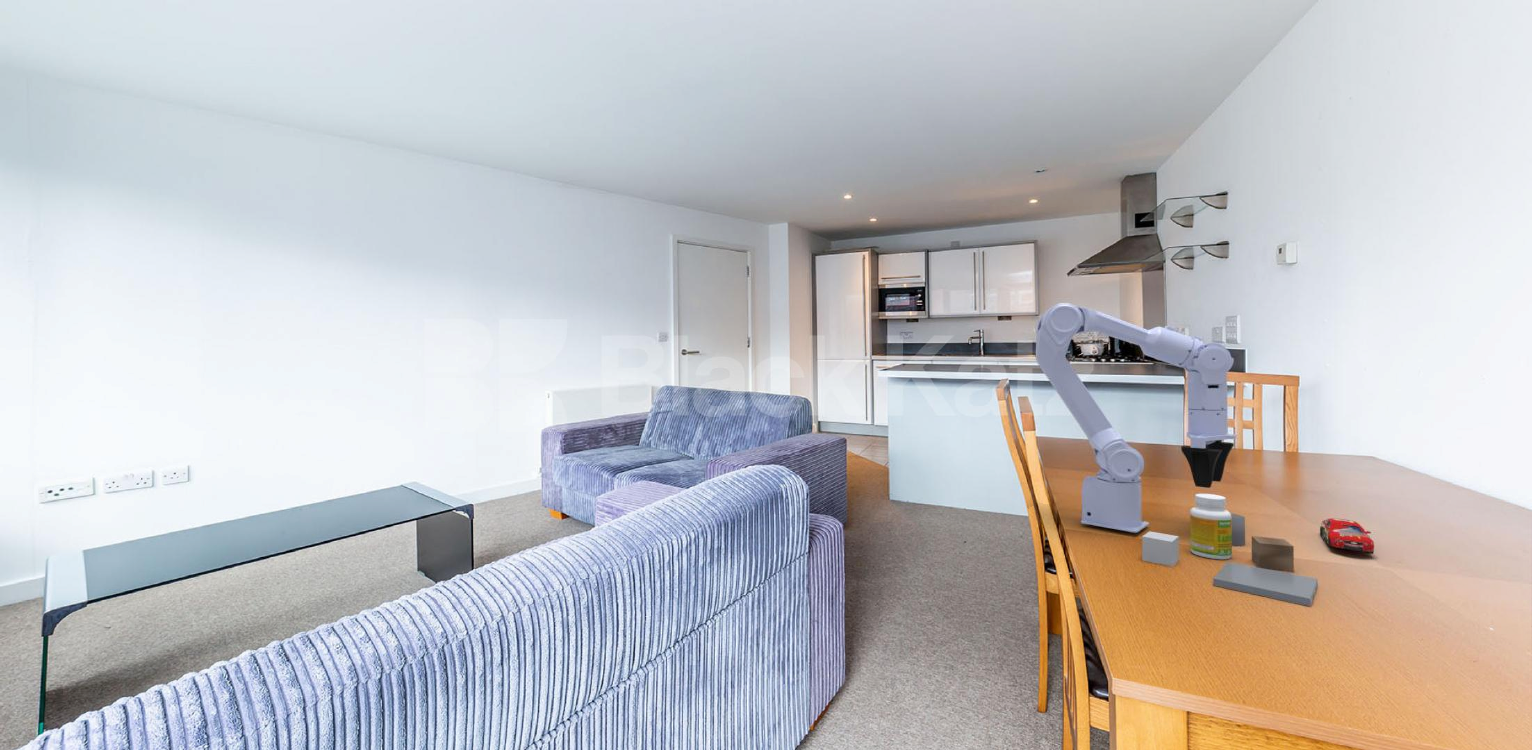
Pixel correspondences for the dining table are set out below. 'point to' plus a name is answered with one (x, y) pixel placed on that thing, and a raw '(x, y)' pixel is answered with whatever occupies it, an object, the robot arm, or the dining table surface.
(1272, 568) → the walnut block
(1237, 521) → the slate grey block
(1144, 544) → the grey block
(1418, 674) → the dining table surface
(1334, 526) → the race car
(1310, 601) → the slate tile
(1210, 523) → the supplement bottle
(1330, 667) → the dining table surface
